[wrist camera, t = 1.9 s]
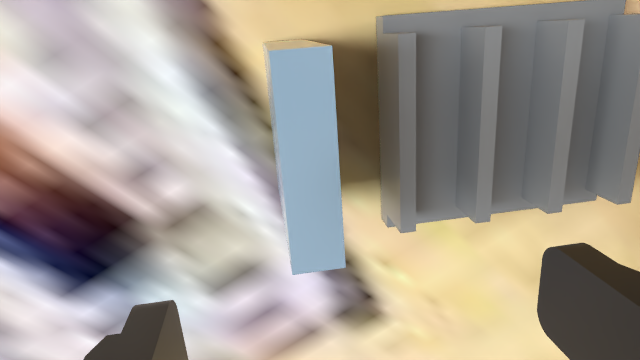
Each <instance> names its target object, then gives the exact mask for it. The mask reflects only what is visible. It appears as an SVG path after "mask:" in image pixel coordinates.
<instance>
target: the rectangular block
mask: <svg viewBox="0 0 640 360" xmlns="http://www.w3.org/2000/svg"><path fill="white" fill-rule="evenodd" d="M263 50H264V59H265V68H266V77H267V86H268V96H269V105H270V114H271V123H272V132H273V141H274V150H275V159H276V168H277V177H278V186H279V194H280V200H281V206H282V213H283V219H284V225H285V231H286V237H287V243H288V250H289V256H290V262H291V268H292V274H293V275H296V274H303V273H310V272H317V271H324V270H331V269H339V268H346V267H345V250H344V233H343V217H342V200H341V183H340V167H339V150H338V134H337V117H336V100H335V84H334V67H333V50H332V45H327V44H323V43H318V42H313V41H309V40H304V39H299V40H286V41H274V42H263Z"/></svg>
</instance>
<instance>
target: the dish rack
mask: <svg viewBox="0 0 640 360" xmlns="http://www.w3.org/2000/svg"><path fill="white" fill-rule="evenodd" d="M625 2H626V0H587V1H573V2H560V3H547V4H534V5H521V6H507V7H494V8H481V9H468V10H455V11H442V12H428V13H415V14H402V15H389V16H377V17H376V33H377V69H378V105H379V141H380V178H381V214H382V220H383V222H384V223H385V225H386V226H387V227H395V226H396V227H397V229H398V230H399V232H400V233H406V232H414V231H416V224H418V223H425V222H433V221H441V220H448V219H456V218H464V217H469V218H470V219H471V220H472V221H473V222H475V223H482V222H489V221H490V216H491V214H494V213H502V212H510V211H518V210H525V209H533V208H539V209H541V210H542V211H544V212H546V213H547V214H550V213H557V212H562V205H564V204H571V203H579V202H587V201H594V200H596V197H597V195H598V196H600V197H602V198H604V199H606V200H608V201H611V202H613V203H615V204H617V205H618V204H625V203H631V197H632V192H633V186H634V180H635V175H636V169H637V163H638V158H639V152H640V14H624V9H625Z"/></svg>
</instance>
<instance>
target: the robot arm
mask: <svg viewBox="0 0 640 360" xmlns="http://www.w3.org/2000/svg"><path fill="white" fill-rule="evenodd" d="M537 312H538V318H539V321H540V324H541V326H542V328H543V330H544V332H545V333H546V335H547V336H548V337H549V338H550V339H551V340H552V341H553V342H554V344H555V345H556V346H557V347H558V348H559V349H560V350H561V351H562V352H563V353H564V354H565V355H566V356H567V357H568V358H569V359H570V360H640V272H639V271H636V270H633V269H631V268H628V267H626V266H623V265H620V264H618V263H617V262H615V261H613V260H612V259H610V258H609V257H607V256H606V255H604V254H602V253H601V252H599V251H598V250H596V249H595V248H593V247H591V246H590V245H588V244H585V243H577V244H570V245H563V246H556V247H550V248H548V249H546V251H545V252H544V254H543V258H542V267H541V276H540V286H539V295H538V305H537ZM84 360H188V356H187V351H186V347H185V342H184V337H183V333H182V328H181V323H180V319H179V314H178V309H177V306H176V303H175V302H174V301H173V300H169V301H162V302H155V303H148V304H141V305H135V306H134V307H133V308H132V310H131V312H130V314H129V316H128V319H127V321H126V323H125V326H124V328H123V330H122V332H121V334H114V335H107V336H106V337H105V338H104V339H103V340H101V341H100V342H99V343H98V344H97V345H96V346H95V347H94V348H93V349H92V350H91V351H90V352H89V353H88V354H87V355H86V356H85V358H84Z"/></svg>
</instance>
